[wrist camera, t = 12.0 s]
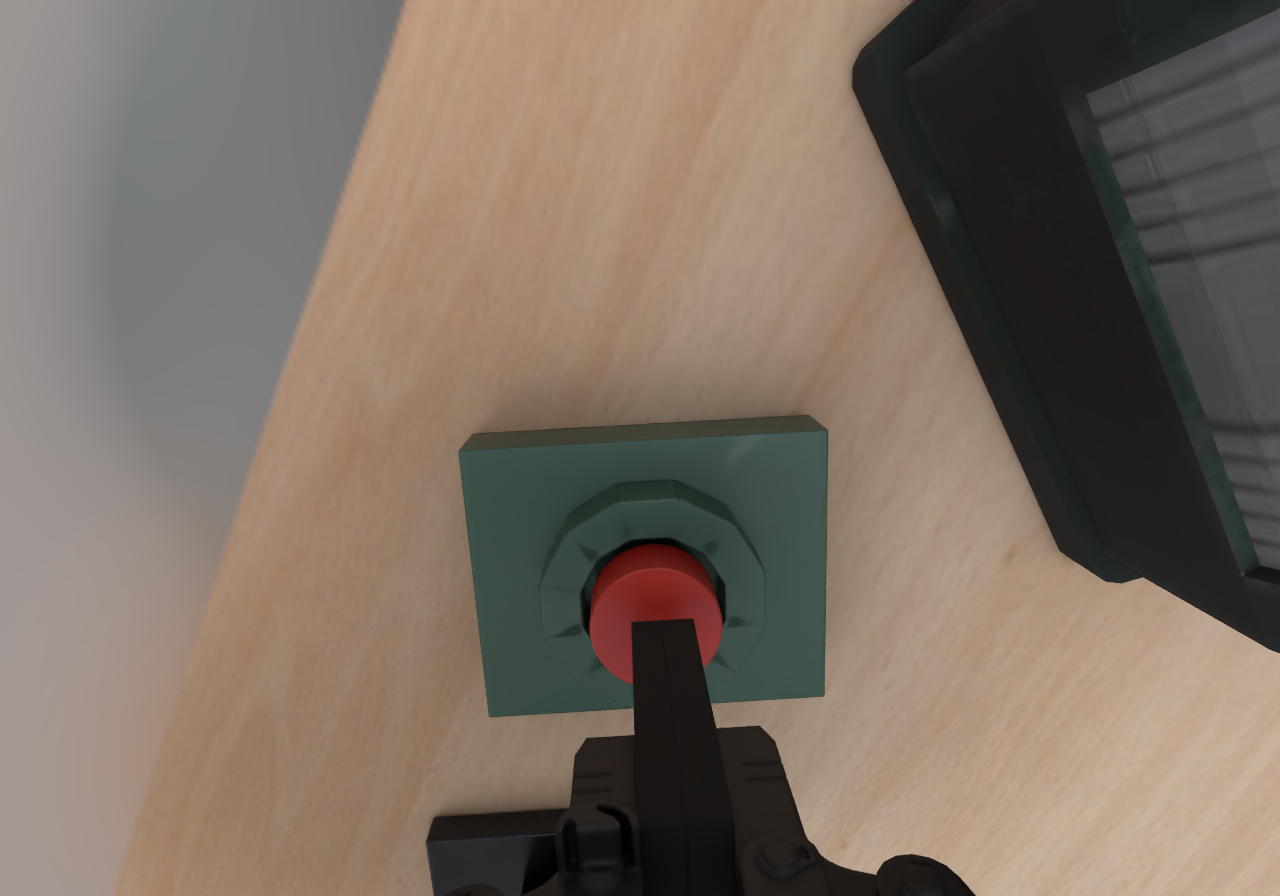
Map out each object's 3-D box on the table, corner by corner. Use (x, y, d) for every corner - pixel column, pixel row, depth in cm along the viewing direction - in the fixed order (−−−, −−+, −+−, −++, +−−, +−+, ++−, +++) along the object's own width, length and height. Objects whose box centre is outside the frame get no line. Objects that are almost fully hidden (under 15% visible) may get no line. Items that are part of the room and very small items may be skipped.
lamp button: (596, 659, 22) (593, 692, 20) (587, 546, 21) (584, 571, 19) (716, 652, 22) (724, 684, 20) (712, 539, 21) (721, 563, 19)
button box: (499, 680, 26) (478, 754, 22) (471, 433, 24) (443, 467, 20) (808, 661, 26) (841, 731, 22) (809, 414, 24) (846, 443, 20)
